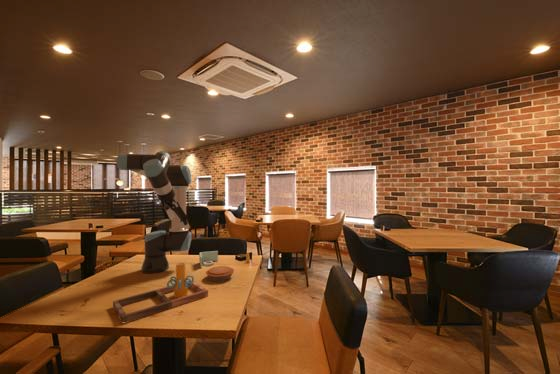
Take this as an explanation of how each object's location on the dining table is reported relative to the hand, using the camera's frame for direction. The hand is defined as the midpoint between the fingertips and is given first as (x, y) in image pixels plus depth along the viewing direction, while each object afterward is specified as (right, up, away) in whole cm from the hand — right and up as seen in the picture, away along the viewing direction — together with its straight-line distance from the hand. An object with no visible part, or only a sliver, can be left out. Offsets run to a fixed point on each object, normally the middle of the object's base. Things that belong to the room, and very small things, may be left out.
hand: (179, 223), depth 129 cm
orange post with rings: (+5, -32, -12) cm, 35 cm away
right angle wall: (+5, -33, +35) cm, 48 cm away
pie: (+18, -33, +11) cm, 39 cm away
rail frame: (-1, -32, -18) cm, 37 cm away
